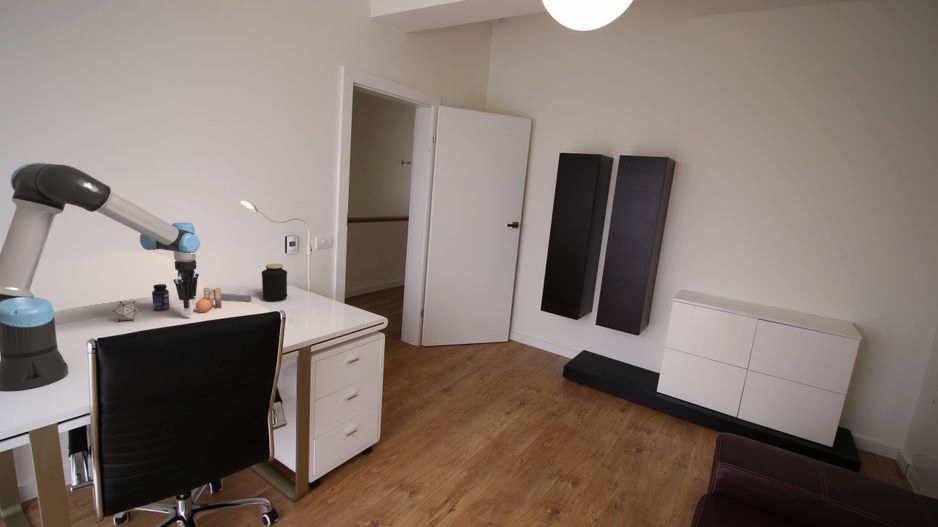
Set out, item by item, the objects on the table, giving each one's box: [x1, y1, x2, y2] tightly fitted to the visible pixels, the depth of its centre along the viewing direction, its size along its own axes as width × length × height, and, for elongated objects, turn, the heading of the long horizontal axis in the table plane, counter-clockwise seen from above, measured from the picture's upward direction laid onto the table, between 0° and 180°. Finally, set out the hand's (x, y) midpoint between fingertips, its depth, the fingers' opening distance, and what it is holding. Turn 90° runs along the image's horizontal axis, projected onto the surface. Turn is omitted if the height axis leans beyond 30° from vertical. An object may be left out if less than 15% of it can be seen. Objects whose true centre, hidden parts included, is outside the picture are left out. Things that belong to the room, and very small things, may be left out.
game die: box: [111, 300, 142, 322], centre depth 179 cm, size 9×8×10 cm
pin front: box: [208, 288, 216, 309], centre depth 200 cm, size 2×2×9 cm
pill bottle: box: [151, 283, 171, 312], centre depth 195 cm, size 6×6×11 cm
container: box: [261, 263, 289, 302], centre depth 219 cm, size 12×12×18 cm
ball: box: [195, 298, 212, 313], centre depth 195 cm, size 6×6×6 cm
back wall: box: [214, 292, 252, 303], centre depth 215 cm, size 2×22×3 cm, turn 89°
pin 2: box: [214, 288, 222, 309], centre depth 202 cm, size 2×2×9 cm
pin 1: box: [203, 287, 211, 300], centre depth 202 cm, size 2×2×9 cm
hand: (188, 314), depth 185 cm, fingers closed
